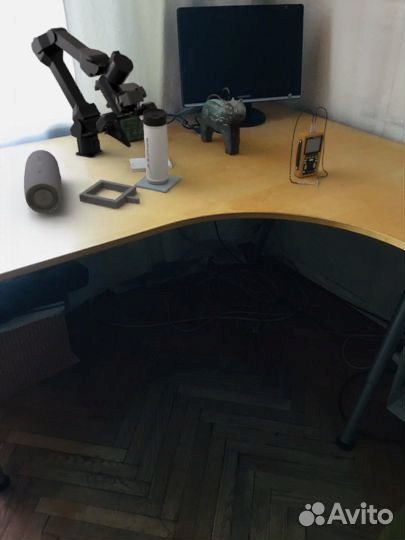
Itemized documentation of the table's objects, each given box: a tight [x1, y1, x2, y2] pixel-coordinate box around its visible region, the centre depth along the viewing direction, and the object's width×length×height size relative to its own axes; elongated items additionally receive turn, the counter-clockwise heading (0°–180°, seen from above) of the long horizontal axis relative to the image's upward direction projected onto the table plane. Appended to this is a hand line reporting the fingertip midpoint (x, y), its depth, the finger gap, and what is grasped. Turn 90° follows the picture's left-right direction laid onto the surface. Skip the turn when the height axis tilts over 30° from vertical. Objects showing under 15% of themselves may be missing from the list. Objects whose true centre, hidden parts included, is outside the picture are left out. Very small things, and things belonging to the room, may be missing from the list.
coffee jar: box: [121, 82, 144, 143], centre depth 158 cm, size 10×8×19 cm
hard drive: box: [128, 157, 173, 172], centre depth 144 cm, size 2×8×12 cm
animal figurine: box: [199, 87, 247, 156], centre depth 151 cm, size 20×6×20 cm, turn 35°
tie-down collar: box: [79, 179, 141, 210], centre depth 124 cm, size 15×10×2 cm
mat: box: [133, 174, 182, 194], centre depth 133 cm, size 10×10×1 cm
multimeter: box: [289, 106, 329, 187], centre depth 131 cm, size 15×10×20 cm
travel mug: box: [143, 106, 169, 185], centre depth 127 cm, size 6×7×20 cm
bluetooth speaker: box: [23, 149, 62, 214], centre depth 121 cm, size 23×9×10 cm, turn 17°
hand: (142, 142), depth 130 cm, fingers open, 9 cm apart
